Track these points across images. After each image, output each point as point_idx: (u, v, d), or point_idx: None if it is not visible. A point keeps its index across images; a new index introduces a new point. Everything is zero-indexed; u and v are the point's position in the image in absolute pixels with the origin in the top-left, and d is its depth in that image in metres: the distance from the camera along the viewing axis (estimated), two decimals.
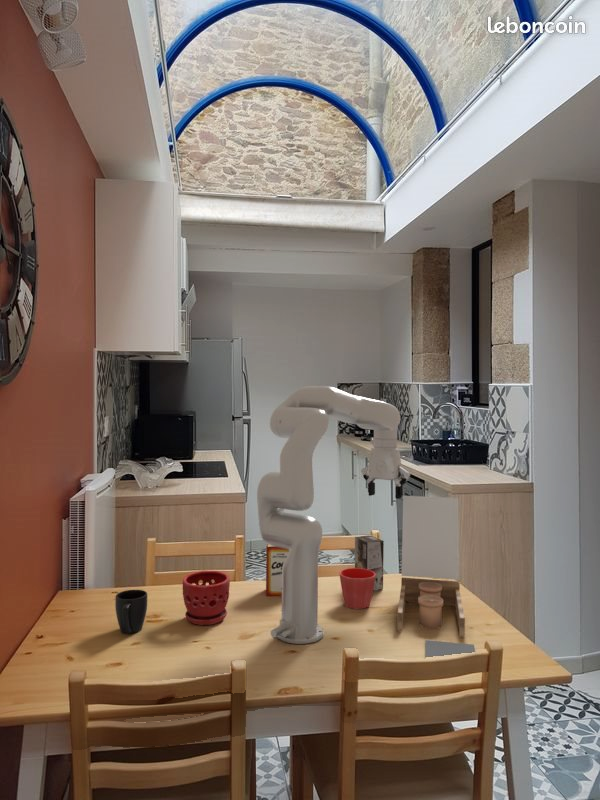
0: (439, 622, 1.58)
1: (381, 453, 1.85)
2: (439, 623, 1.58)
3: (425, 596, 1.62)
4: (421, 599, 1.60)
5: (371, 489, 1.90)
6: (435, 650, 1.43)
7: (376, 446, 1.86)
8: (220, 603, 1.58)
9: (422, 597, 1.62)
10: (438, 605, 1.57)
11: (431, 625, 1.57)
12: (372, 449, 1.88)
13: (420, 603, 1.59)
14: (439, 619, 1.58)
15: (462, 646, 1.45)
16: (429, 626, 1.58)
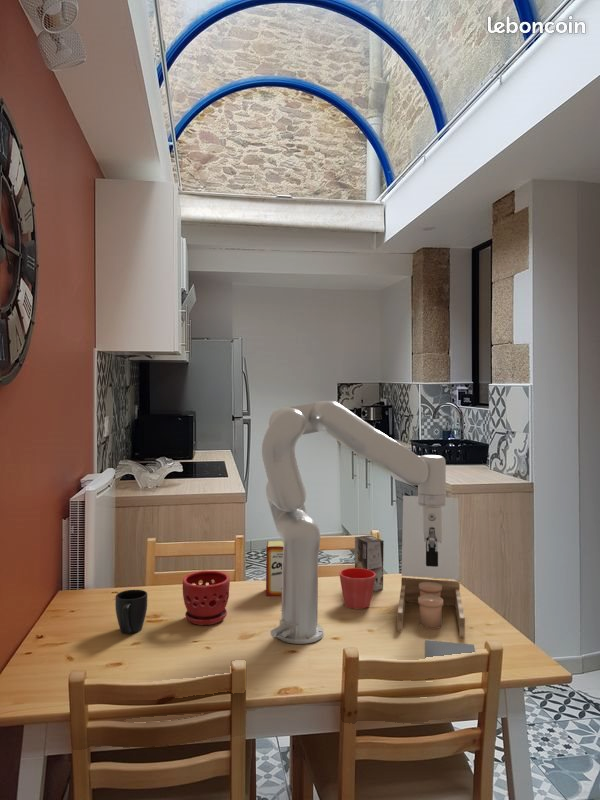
0: (439, 622, 1.58)
1: None
2: (439, 623, 1.58)
3: (425, 596, 1.62)
4: (421, 599, 1.60)
5: None
6: (435, 650, 1.43)
7: (444, 503, 1.58)
8: (220, 603, 1.58)
9: (422, 597, 1.62)
10: (438, 605, 1.57)
11: (431, 625, 1.57)
12: (440, 508, 1.57)
13: (420, 603, 1.59)
14: (439, 619, 1.58)
15: (462, 646, 1.45)
16: (429, 626, 1.58)
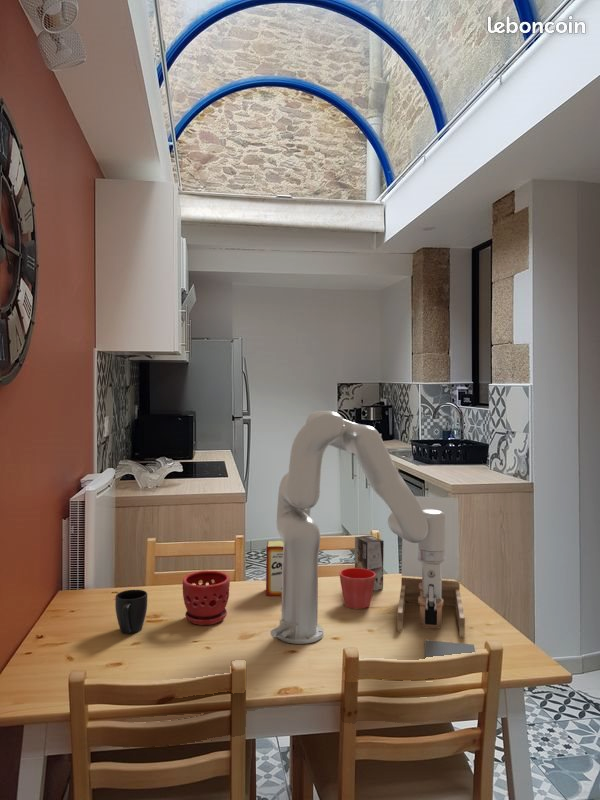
0: (439, 622, 1.58)
1: None
2: (439, 623, 1.58)
3: None
4: (421, 599, 1.60)
5: None
6: (435, 650, 1.43)
7: (444, 559, 1.58)
8: (220, 603, 1.58)
9: (422, 597, 1.62)
10: (438, 605, 1.57)
11: (432, 625, 1.57)
12: (440, 565, 1.57)
13: (420, 603, 1.59)
14: (439, 619, 1.58)
15: (462, 646, 1.45)
16: (429, 626, 1.58)
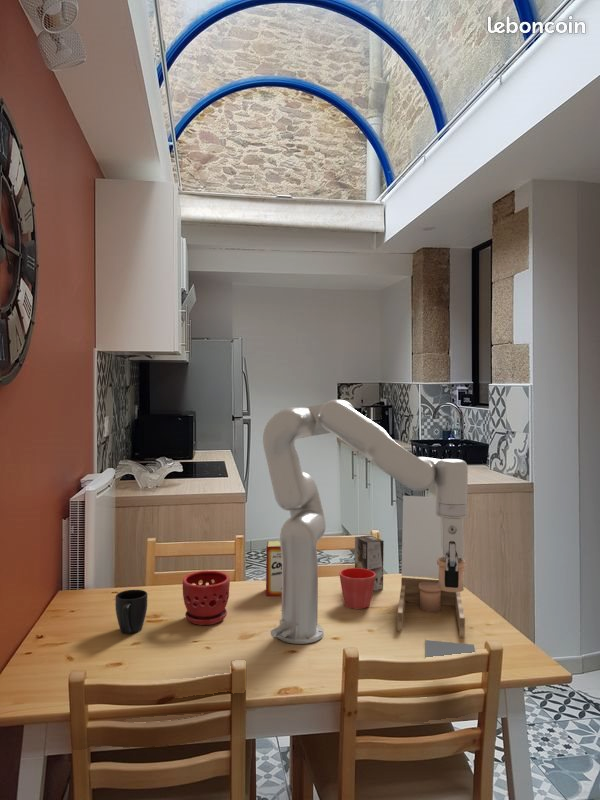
0: (461, 585, 1.40)
1: None
2: (461, 586, 1.40)
3: None
4: (440, 559, 1.42)
5: None
6: (435, 650, 1.43)
7: (466, 514, 1.40)
8: (220, 603, 1.58)
9: (441, 558, 1.43)
10: (460, 565, 1.39)
11: (452, 588, 1.39)
12: (462, 520, 1.38)
13: (439, 564, 1.41)
14: (461, 582, 1.40)
15: (462, 646, 1.45)
16: (450, 589, 1.39)
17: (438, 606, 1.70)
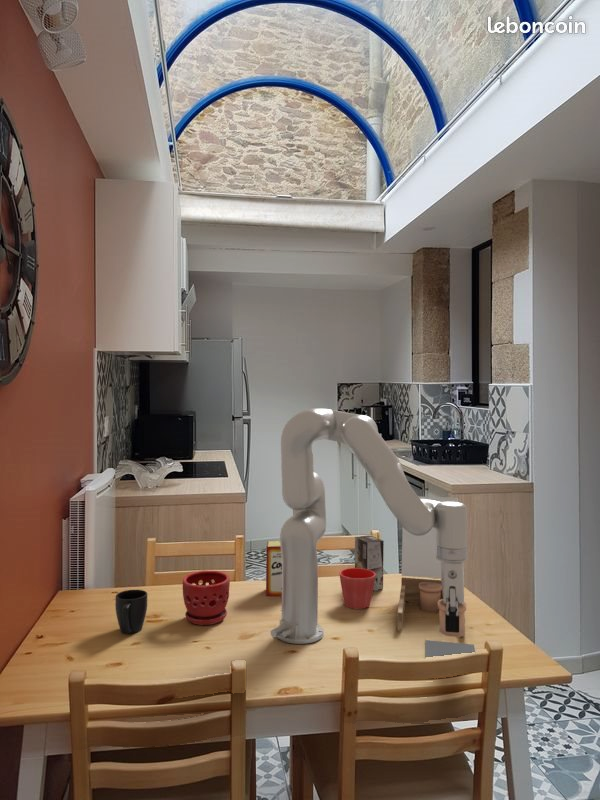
0: (462, 629, 1.39)
1: None
2: (462, 630, 1.39)
3: None
4: (441, 603, 1.41)
5: None
6: (435, 650, 1.43)
7: (466, 557, 1.40)
8: (220, 603, 1.58)
9: (442, 601, 1.43)
10: (461, 610, 1.39)
11: (453, 632, 1.39)
12: (462, 564, 1.38)
13: (440, 608, 1.40)
14: (462, 626, 1.39)
15: (462, 646, 1.45)
16: (451, 634, 1.39)
17: None
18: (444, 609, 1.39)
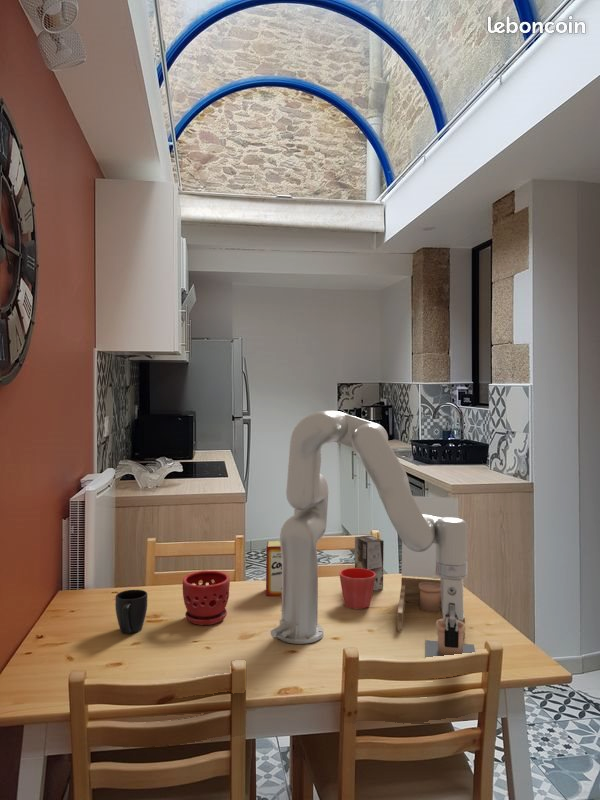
0: (461, 650, 1.40)
1: None
2: (460, 651, 1.40)
3: (443, 620, 1.44)
4: (440, 623, 1.42)
5: None
6: (435, 650, 1.43)
7: (466, 574, 1.40)
8: (220, 603, 1.58)
9: (441, 621, 1.43)
10: (459, 631, 1.39)
11: (452, 653, 1.39)
12: (461, 581, 1.38)
13: (439, 628, 1.40)
14: (460, 646, 1.40)
15: None
16: None
17: (438, 606, 1.70)
18: (443, 630, 1.39)
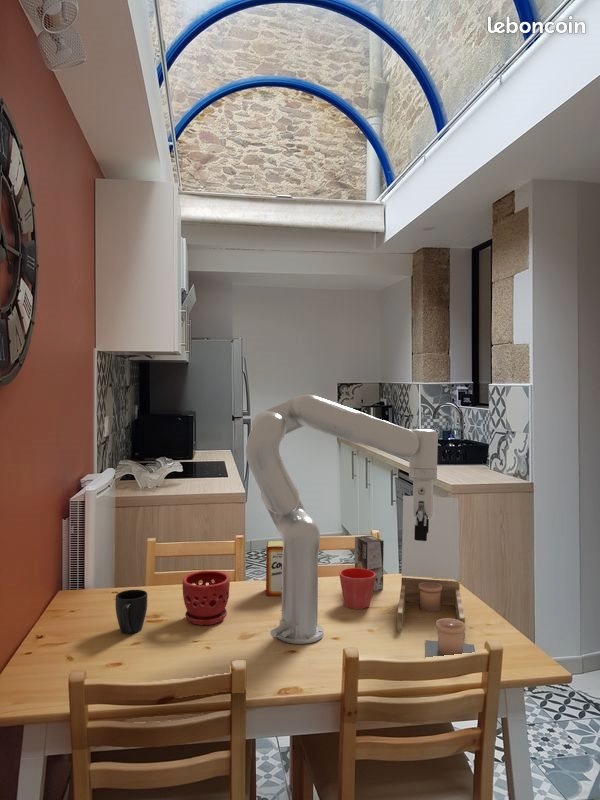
0: (461, 650, 1.40)
1: None
2: (460, 651, 1.40)
3: (443, 620, 1.44)
4: (440, 623, 1.42)
5: None
6: (435, 650, 1.43)
7: (435, 477, 1.56)
8: (220, 603, 1.58)
9: (441, 621, 1.43)
10: (459, 631, 1.39)
11: (452, 653, 1.39)
12: (431, 482, 1.55)
13: (439, 628, 1.40)
14: (460, 646, 1.40)
15: None
16: None
17: (438, 606, 1.70)
18: (443, 630, 1.39)
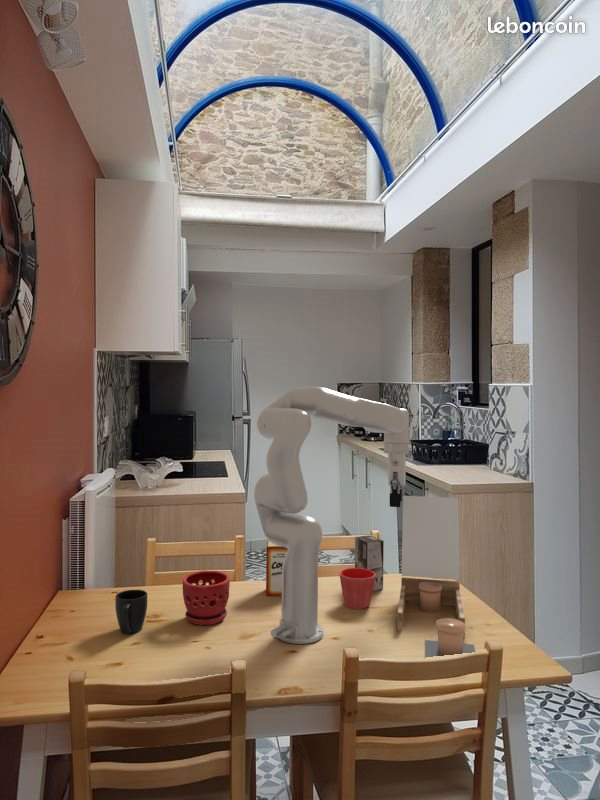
0: (461, 650, 1.40)
1: None
2: (460, 651, 1.40)
3: (443, 620, 1.44)
4: (440, 623, 1.42)
5: None
6: (435, 650, 1.43)
7: (407, 451, 1.76)
8: (220, 603, 1.58)
9: (441, 621, 1.43)
10: (459, 631, 1.39)
11: (452, 653, 1.39)
12: (403, 455, 1.74)
13: (439, 628, 1.40)
14: (460, 646, 1.40)
15: None
16: None
17: (438, 606, 1.70)
18: (443, 630, 1.39)
